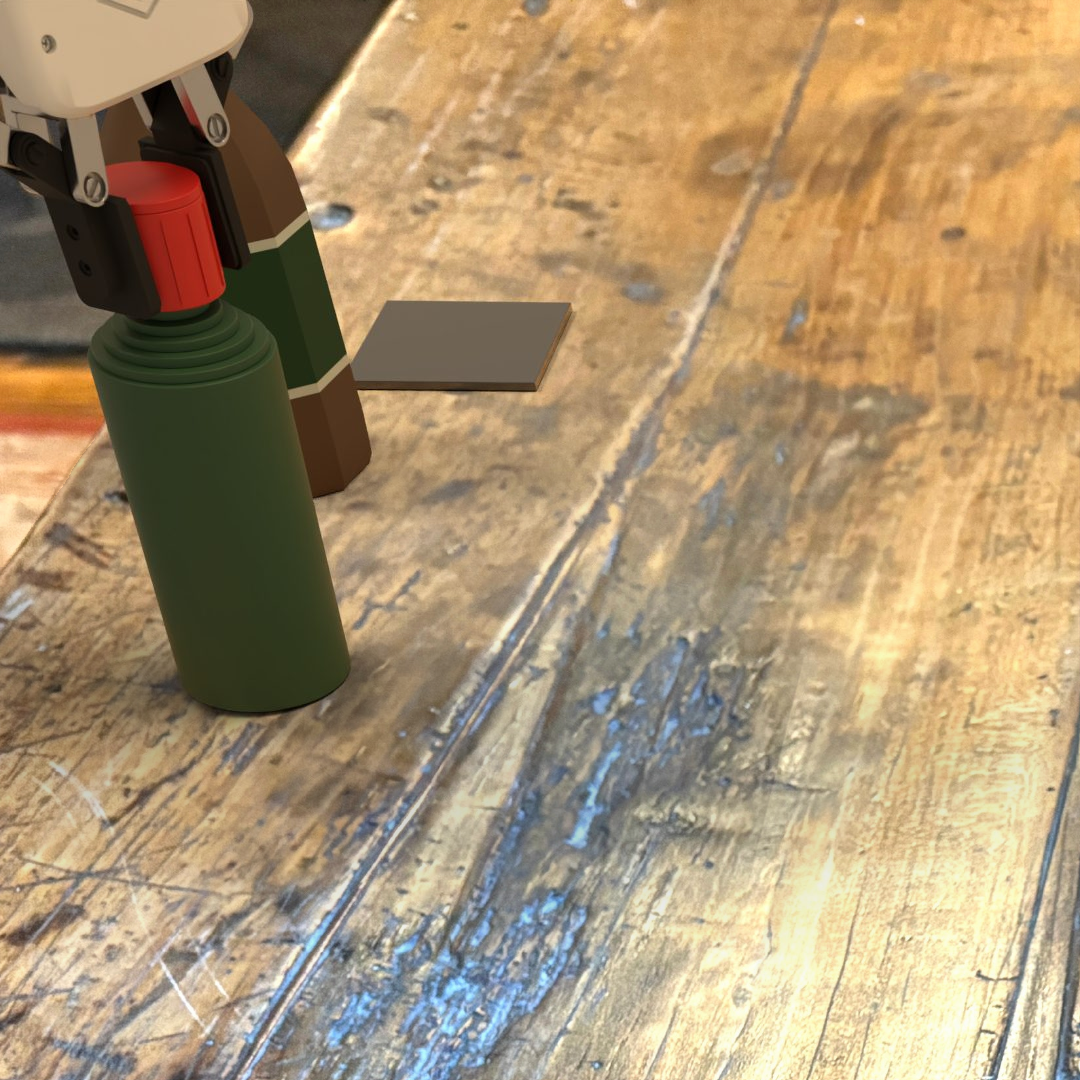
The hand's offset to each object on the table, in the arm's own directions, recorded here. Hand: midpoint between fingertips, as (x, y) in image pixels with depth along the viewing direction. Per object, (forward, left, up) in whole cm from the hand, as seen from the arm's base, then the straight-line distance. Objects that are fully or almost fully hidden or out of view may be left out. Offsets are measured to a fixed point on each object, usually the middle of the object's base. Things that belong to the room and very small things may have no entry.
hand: (167, 279), depth 90 cm
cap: (0, 0, 0) cm, 0 cm away
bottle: (-1, 0, -15) cm, 15 cm away
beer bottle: (-5, +18, -16) cm, 24 cm away
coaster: (0, +30, -16) cm, 34 cm away
